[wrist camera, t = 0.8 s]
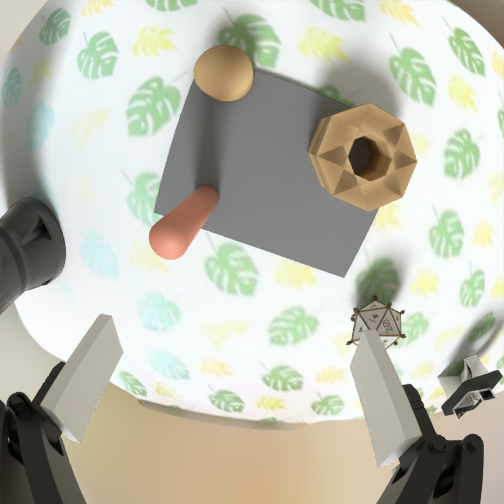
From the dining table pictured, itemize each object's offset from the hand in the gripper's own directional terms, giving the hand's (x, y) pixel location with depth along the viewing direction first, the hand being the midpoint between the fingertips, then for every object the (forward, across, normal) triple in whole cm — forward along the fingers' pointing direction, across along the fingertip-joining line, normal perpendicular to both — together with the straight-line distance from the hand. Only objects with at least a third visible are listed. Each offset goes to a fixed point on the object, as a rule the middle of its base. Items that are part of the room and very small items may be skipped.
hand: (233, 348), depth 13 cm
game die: (+22, +18, -13) cm, 31 cm away
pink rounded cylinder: (+22, -5, +2) cm, 22 cm away
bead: (+21, +12, +9) cm, 26 cm away
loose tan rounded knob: (+22, -3, +16) cm, 27 cm away
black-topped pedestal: (+21, +47, -29) cm, 59 cm away
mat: (+22, +3, +6) cm, 23 cm away
